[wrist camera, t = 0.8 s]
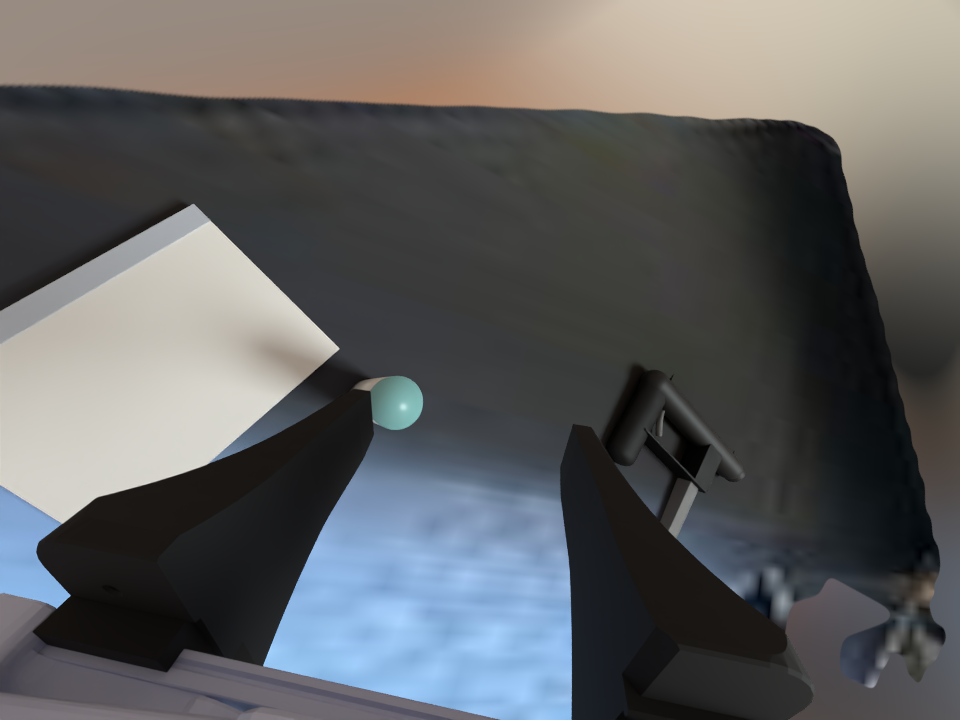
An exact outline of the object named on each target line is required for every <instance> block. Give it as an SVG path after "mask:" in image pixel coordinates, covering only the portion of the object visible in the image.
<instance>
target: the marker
mask: <svg viewBox="0 0 960 720" xmlns="http://www.w3.org/2000/svg"><path fill="white" fill-rule="evenodd" d="M353 389H361V390H367V391H371V403H372V417H373V422H374V423H376V424H378V425H380V426H383V427H385V428H387V429H392V430H399V429H403V428H406V427H408V426H410V425H411V424H413V423H414V422H415V421H416V420H417V418H418V417H419V415H420V413H421V411H422V407H423V397H422V393H421V391H420V389H419V387H418V386H417V385H416V384H415V383H414V382H413V381H412V380H410V379H408V378H406V377H402V376H392V377H383V378H375V379H367V380H362V381H360V382H358V383H356V384H355V385H354V386H353V387H352V388H351V390H353ZM351 390H350V391H351Z"/></svg>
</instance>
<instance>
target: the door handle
mask: <svg viewBox="0 0 960 720" xmlns="http://www.w3.org/2000/svg"><path fill="white" fill-rule="evenodd" d="M673 375H674V374H673ZM673 375H672V377H673ZM672 377H671V378H670V379H669V378H668V377H667V376H666V375H665V374H664V373H663V372H661V371H658V370H650V371H647V372H645V373H644V374H643V375H642V376H641V378H640V385H639V387H638V389H637V391H636V393H635V394H634V396H633V398H632V400H631V402H630V403H629V405H628V407H627V409H626V411H625V412H624V414H623V416H622V418H621V420H620V421H619V423H618V425H617V427H616V428H615V430H614V432H613V434H612V436H611V437H610V439H609V441H608V443H607V452H608V454H609V456H610V457H611V458H612V459H613V460H614V461H615V462H616V463H618V464H620V465H623V466H630V465H632V464H633V463H634V462H635V460H636V458H637V456H638V454H639V452H640V451H641V449H642V447H643V445H644V444H645V445H646V446H647V447H648V448H649V449H650V450H651V451H652V452H653V453H654V454H655V455H656V456H657V457H658V458H659V459H660V460H661V461H662V462H663V463H664V464H665V465H666V466H667V467H668V468H669V469H670V470H671V471H672V472H673V473H674V474H675V475H676V476H677V477H678V478H677V481H676V483H675V486H674V488H673V491H672V493H671V496H670V498H669V501H668V503H667V506H666V508H665V511H664V513H663V516H662V518H661V521H660V522H661V523H662V524H663V525H664V527H665V528H666V529H667V530H668V531H669V532H670V533H671V534H672V535H673V536H674V537H675V538H677V536H678V534H679V531H680V529H681V527H682V525H683V522H684V520H685V518H686V516H687V514H688V511H689V509H690V507H691V505H692V502H693V500H694V498H695V496H696V493H697V491H700V492H703V493H706V494H707V492H708V489H709V487H710V485H711V482H712V480H713V478H714V476H715V473H716V472H717V473H718V474H719V475H720V476H722V477H724V478H725V479H726V480H728V481H731V482H737V481H740V480H741V479H743V477H744V476H745V470H744V468H743V466H742V464H741V462H740V461H739V459H738V458H737V457H736V456H735V455H734V453H735V451H734V452H732V451H731V450H730V449H729V448H728V447H727V445H726V444H725V443H724V442H723V441H722V440H721V439H720V437H719V436H718V435H717V434H716V433H715V432H714V430H713V429H712V428H711V427H710V426H709V425H708V423H707V422H706V421H705V420H704V419H703V418H702V416H701V415H700V414H699V413H698V412H697V411H696V409H695V408H694V407H693V406H692V405H691V404H690V402H689V401H688V400H687V399H686V398H685V397H684V395H683V394H682V393H681V392H680V391H679V390H678V388H677V387H676V386H675V385H674V384H673V383H672V381H671V380H672ZM664 415H665V416H666V417H667V418H668V419H669V421H670V422H671V423H672V424H673V425H674V426H675V427H676V428H677V429H678V430H679V431H680V433H681V434H682V435H683V436H684V437H685V438H686V439H687V440H688V441H689V442H688V445H687V447H686V450H685V452H684V455H683V457H682V460H681V462H680V463H679V462H678V461H677V460H676V459H675V458H674V457H673V456H672V455H671V454H670V453H669V452H668V451H667V449H666V448H665V447H664V446H663V445H662V444H661V443H660V442H659V441H658V440H657V439H656V438H655V437H654V436H653V435H652V434H651V433H650V431H651V429H652V428H653V426H654V424H655V422H656V436H662V424H663V417H664Z"/></svg>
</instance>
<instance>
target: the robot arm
mask: <svg viewBox="0 0 960 720" xmlns="http://www.w3.org/2000/svg"><path fill="white" fill-rule="evenodd" d="M373 435H374V431H373V417H372V403H371V391H367V390H361V389H353V390H351V391H349V392H347V393H346V394H344V395H342V396H341V397H339V398H338V399H336V400H334V401H333V402H331V403H330V404H328V405H326V406H325V407H323V408H321V409H320V410H318V411H317V412H315V413H313V414H312V415H310V416H308V417H307V418H305V419H303V420H301V421H300V422H298V423H296V424H294V425H292V426H291V427H289V428H287V429H285V430H283V431H281V432H280V433H278V434H276V435H274V436H272V437H270V438H268V439H266V440H264V441H262V442H260V443H258V444H255V445H253V446H251V447H249V448H247V449H244V450H242V451H240V452H238V453H235V454H233V455H230V456H227V457H225V458H222V459H220V460H217V461H215V462H212V463H210V464H207V465H205V466H202V467H199V468H196V469H193V470H190V471H187V472H184V473H182V474H178V475H175V476H172V477H169V478H166V479H163V480H159V481H156V482H153V483H149V484H146V485H142V486H138V487H134V488H131V489H127V490H123V491H119V492H116V493H112V494H108V495H104V496H100V497H97V498H95V499H94V500H93V501H92V502H90V503H89V504H88V505H86V506H85V507H84V508H82V509H81V510H80V511H79V512H77V513H76V514H75V515H73V516H72V517H71V518H69V519H68V520H67V521H65V522H64V523H63V524H62V525H60V526H59V527H58V528H56V529H55V530H54V531H52V532H51V533H50V534H49V535H47V536H46V537H45V538H43V539H42V540H41V541H39V543H38V546H37V551H36V553H37V556H38V559H39V560H40V562H41V563H42V564H43V566H44V567H45V568H46V569H47V570H48V571H49V572H50V574H51V575H52V576H53V577H54V578H55V579H56V580H57V581H58V582H59V583H60V584H61V585H62V586H63V588H64V589H65V590H66V591H67V592H68V593H69V594H70V595H71V596H70V597H69V598H68V599H67V600H66V601H65V602H64V603H63V604H62V605H60V606H59V607H58V608H57V609H56V608H55V607H53V606H51V605H49V604H47V603H44V602H41V601H37V600H32V599H27V598H23V597H18V596H14V595H9V594H5V593H2V594H0V720H499V719H494V718H490V717H485V716H481V715H477V714H472V713H468V712H463V711H459V710H454V709H450V708H445V707H441V706H437V705H432V704H428V703H423V702H419V701H414V700H410V699H405V698H401V697H397V696H392V695H388V694H383V693H379V692H374V691H370V690H366V689H361V688H357V687H352V686H348V685H343V684H339V683H334V682H330V681H326V680H321V679H317V678H312V677H308V676H303V675H299V674H294V673H290V672H286V671H281V670H277V669H272V668H268V667H263V664H264V662H265V659H266V656H267V654H268V651H269V649H270V646H271V644H272V641H273V639H274V636H275V634H276V631H277V629H278V626H279V624H280V621H281V619H282V616H283V614H284V612H285V609H286V607H287V605H288V602H289V600H290V598H291V595H292V593H293V590H294V588H295V586H296V583H297V581H298V579H299V577H300V575H301V572H302V570H303V568H304V566H305V564H306V561H307V559H308V557H309V555H310V553H311V551H312V549H313V546H314V544H315V542H316V540H317V538H318V536H319V534H320V532H321V530H322V528H323V526H324V524H325V522H326V520H327V519H328V517H329V515H330V513H331V511H332V510H333V508H334V507H335V505H336V503H337V502H338V500H339V498H340V497H341V495H342V493H343V492H344V490H345V488H346V487H347V485H348V484H349V482H350V480H351V479H352V477H353V475H354V474H355V472H356V470H357V469H358V467H359V465H360V464H361V462H362V460H363V458H364V456H365V454H366V452H367V449H368V447H369V445H370V442H371V440H372V438H373ZM560 486H561V502H562V510H563V518H564V526H565V533H566V541H567V549H568V556H569V567H570V585H571V622H572V720H788V719H790V718H791V717H793V716H794V715H796V714H797V713H799V712H800V711H802V710H803V709H805V708H806V707H807V706H808V705H809V704H810V703H811V702H812V700H813V697H814V693H815V688H814V686H813V683H812V681H811V679H810V677H809V675H808V673H807V671H806V670H805V668H804V666H803V664H802V662H801V660H800V658H799V656H798V654H797V653H796V651H795V649H794V647H793V645H792V644H791V642H790V640H789V638H788V637H787V635H786V634H785V632H784V631H783V630H782V629H781V628H779V627H778V626H777V625H775V624H774V623H773V622H772V621H770V620H769V619H768V618H767V617H765V616H764V615H763V614H761V613H760V612H759V611H758V610H756V609H755V608H754V607H752V606H751V605H750V604H749V603H747V602H746V601H745V600H743V599H742V598H741V597H740V596H738V595H737V594H736V593H735V592H734V591H733V590H731V589H730V588H729V587H728V586H727V585H726V584H724V583H723V582H722V581H721V580H720V579H719V578H717V577H716V576H715V575H714V574H713V573H712V572H711V571H709V570H708V569H707V568H706V567H705V566H704V565H703V564H702V563H701V562H700V561H698V560H697V559H696V558H695V557H694V556H693V555H692V554H691V553H690V552H689V551H688V550H687V549H686V548H685V547H684V546H683V545H682V544H681V543H680V542H679V541H678V540H677V539H676V538H675V537H674V536H673V535H672V534H671V533H670V532H669V531H668V530H667V529H666V528H665V527H664V525H663V524H662V523H661V522H660V521H659V520H658V519H657V518H656V517H655V515H654V514H653V513H652V512H651V511H650V510H649V509H648V507H647V506H646V505H645V504H644V503H643V501H642V500H641V499H640V498H639V496H638V495H637V494H636V492H635V491H634V490H633V489H632V487H631V486H630V485H629V483H628V482H627V481H626V479H625V478H624V476H623V475H622V473H621V472H620V471H619V469H618V468H617V466H616V465H615V463H614V462H613V460H612V459H611V457H610V456H609V454H608V453H607V451H606V450H605V448H604V446H603V445H602V443H601V442H600V440H599V438H598V437H597V435H596V434H595V432H594V431H593V429H592V428H591V427H587V426H581V425H575V424H573V426H572V430H571V433H570V436H569V440H568V443H567V446H566V450H565V453H564V457H563V460H562V463H561V467H560Z"/></svg>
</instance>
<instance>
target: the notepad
mask: <svg viewBox="0 0 960 720" xmlns="http://www.w3.org/2000/svg"><path fill="white" fill-rule="evenodd" d="M338 350H339V348H338V347H337V346H336V345H335V344H334V343H333V342H332V341H331V340H330V339H329V338H328V337H327V336H326V335H325V334H324V333H323V332H322V331H321V330H320V329H319V328H318V327H317V326H316V325H315V324H314V323H313V322H312V321H311V320H310V319H309V318H308V317H307V316H306V315H305V314H304V313H303V312H302V311H301V310H300V309H299V308H298V307H297V306H296V305H295V304H294V303H293V302H292V301H291V300H290V299H289V298H288V297H287V296H286V295H285V294H284V293H283V292H282V291H281V290H280V289H279V288H278V287H277V286H276V285H275V284H274V283H273V282H272V281H271V280H270V279H269V278H268V277H267V276H266V275H265V274H264V273H263V272H262V271H261V270H260V269H259V268H258V267H257V266H256V265H255V264H254V263H252V262H251V261H250V260H249V259H248V258H247V257H246V256H245V255H244V254H243V253H242V252H241V251H240V250H239V249H238V248H237V247H236V246H235V245H234V244H233V243H232V242H231V241H230V240H229V239H228V238H227V237H226V236H225V235H224V234H223V233H222V232H221V231H220V230H219V229H218V228H217V227H216V226H215V225H214V224H213V223H212V222H211V221H210V220H209V219H208V218H207V217H206V216H205V215H204V214H203V213H202V212H201V211H200V210H199V209H198V208H197V207H196V206H195V205H194V204H192V205H191V206H189V207H187V208H185V209H183V210H182V211H180V212H178V213H176V214H174V215H173V216H171V217H169V218H167V219H165V220H164V221H162V222H160V223H158V224H156V225H155V226H153V227H151V228H149V229H147V230H146V231H144V232H142V233H140V234H138V235H137V236H135V237H133V238H131V239H129V240H128V241H126V242H124V243H122V244H120V245H119V246H117V247H115V248H113V249H111V250H110V251H108V252H106V253H104V254H102V255H101V256H99V257H97V258H95V259H93V260H92V261H90V262H88V263H86V264H84V265H83V266H81V267H79V268H77V269H75V270H74V271H72V272H70V273H68V274H66V275H65V276H63V277H61V278H59V279H57V280H56V281H54V282H52V283H50V284H48V285H47V286H45V287H43V288H41V289H39V290H38V291H36V292H34V293H32V294H30V295H29V296H27V297H25V298H23V299H21V300H20V301H18V302H16V303H14V304H12V305H11V306H9V307H7V308H5V309H3V310H2V311H0V485H1V486H3V487H4V488H6V489H8V490H9V491H11V492H12V493H14V494H16V495H17V496H19V497H20V498H22V499H23V500H25V501H27V502H28V503H30V504H31V505H33V506H35V507H36V508H38V509H39V510H41V511H43V512H44V513H46V514H47V515H49V516H51V517H52V518H54V519H55V520H57V521H59V522H60V523H62V524H63V523H64V522H65V521H67V520H68V519H69V518H71V517H72V516H73V515H75V514H76V513H77V512H79V511H80V510H81V509H82V508H84V507H85V506H86V505H88V504H89V503H90V502H92V501H93V500H94V499H95V498H97V497H100V496H104V495H108V494H112V493H116V492H119V491H123V490H127V489H131V488H134V487H138V486H142V485H146V484H149V483H153V482H156V481H159V480H163V479H166V478H169V477H172V476H175V475H178V474H182V473H184V472H187V471H190V470H193V469H196V468H199V467H202V466H205V465H207V464H208V463H209V462H210V461H211V460H213V459H214V458H215V457H216V456H217V455H218V454H219V453H221V452H222V451H223V450H224V449H225V448H226V447H227V446H229V445H230V444H231V443H232V442H233V441H234V440H236V439H237V438H238V437H239V436H240V435H241V434H242V433H244V432H245V431H246V430H247V429H248V428H249V427H250V426H252V425H253V424H254V423H255V422H256V421H257V420H259V419H260V418H261V417H262V416H263V415H264V414H265V413H267V412H268V411H269V410H270V409H271V408H272V407H273V406H275V405H276V404H277V403H278V402H279V401H280V400H281V399H283V398H284V397H285V396H286V395H287V394H288V393H290V392H291V391H292V390H293V389H294V388H295V387H296V386H298V385H299V384H300V383H301V382H302V381H303V380H304V379H306V378H307V377H308V376H309V375H310V374H311V373H313V372H314V371H315V370H316V369H317V368H318V367H319V366H321V365H322V364H323V363H324V362H325V361H326V360H327V359H329V358H330V357H331V356H332V355H333V354H334V353H335V352H337V351H338Z"/></svg>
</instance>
